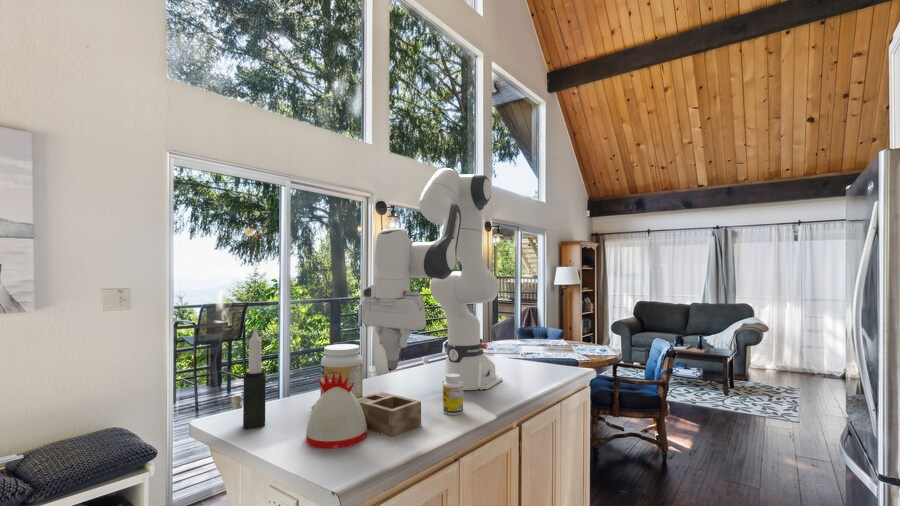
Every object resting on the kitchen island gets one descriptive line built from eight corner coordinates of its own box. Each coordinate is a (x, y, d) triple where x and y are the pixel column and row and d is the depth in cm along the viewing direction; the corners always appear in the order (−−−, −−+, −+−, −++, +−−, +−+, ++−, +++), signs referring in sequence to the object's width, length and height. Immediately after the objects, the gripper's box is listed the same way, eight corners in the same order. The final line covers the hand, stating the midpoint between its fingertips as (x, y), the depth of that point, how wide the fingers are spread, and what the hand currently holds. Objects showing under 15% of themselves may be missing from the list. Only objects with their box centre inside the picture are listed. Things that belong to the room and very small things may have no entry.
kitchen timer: (314, 428, 110) (314, 367, 111) (369, 426, 111) (369, 366, 112) (299, 450, 97) (299, 381, 97) (362, 447, 98) (362, 379, 98)
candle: (243, 423, 114) (244, 326, 115) (265, 420, 116) (265, 325, 117) (242, 430, 109) (244, 328, 110) (265, 427, 111) (266, 327, 112)
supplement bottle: (442, 409, 124) (442, 372, 124) (462, 409, 124) (462, 372, 125) (443, 416, 118) (443, 377, 119) (463, 415, 119) (463, 377, 119)
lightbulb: (401, 373, 108) (400, 327, 108) (377, 372, 109) (377, 327, 109) (407, 367, 114) (407, 325, 114) (384, 367, 115) (384, 324, 115)
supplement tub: (311, 407, 127) (311, 348, 128) (339, 396, 138) (339, 342, 139) (343, 413, 122) (344, 351, 122) (371, 401, 133) (371, 344, 133)
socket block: (381, 413, 121) (380, 391, 121) (421, 425, 111) (421, 401, 112) (351, 423, 113) (351, 400, 113) (392, 437, 103) (392, 411, 104)
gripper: (431, 291, 108) (431, 348, 107) (375, 289, 121) (375, 340, 120) (413, 292, 103) (413, 351, 102) (357, 290, 116) (357, 343, 115)
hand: (392, 345), depth 111 cm, fingers closed on lightbulb, 6 cm apart
